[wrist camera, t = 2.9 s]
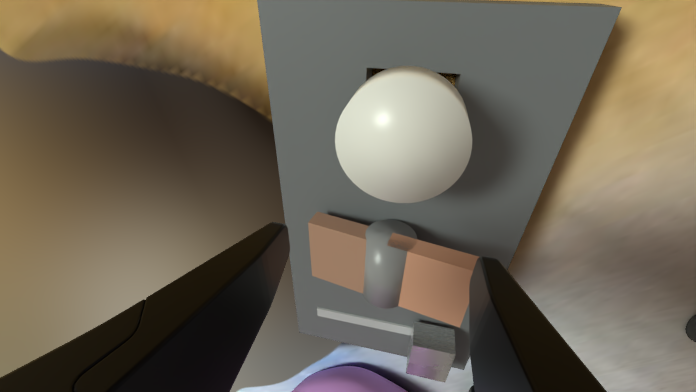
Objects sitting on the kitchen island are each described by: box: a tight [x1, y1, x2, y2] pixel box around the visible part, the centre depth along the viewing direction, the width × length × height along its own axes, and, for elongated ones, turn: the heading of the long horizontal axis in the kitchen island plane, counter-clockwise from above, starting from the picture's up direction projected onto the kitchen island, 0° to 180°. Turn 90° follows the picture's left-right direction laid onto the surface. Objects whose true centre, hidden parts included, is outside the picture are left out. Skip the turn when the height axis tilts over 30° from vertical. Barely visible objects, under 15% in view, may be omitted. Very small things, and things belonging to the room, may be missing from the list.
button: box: [335, 66, 472, 203], centre depth 15 cm, size 6×6×4 cm
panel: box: [257, 0, 622, 370], centre depth 22 cm, size 15×27×2 cm, turn 179°
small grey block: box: [406, 321, 456, 382], centre depth 25 cm, size 3×4×2 cm
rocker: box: [308, 212, 479, 328], centre depth 20 cm, size 10×5×3 cm, turn 89°
